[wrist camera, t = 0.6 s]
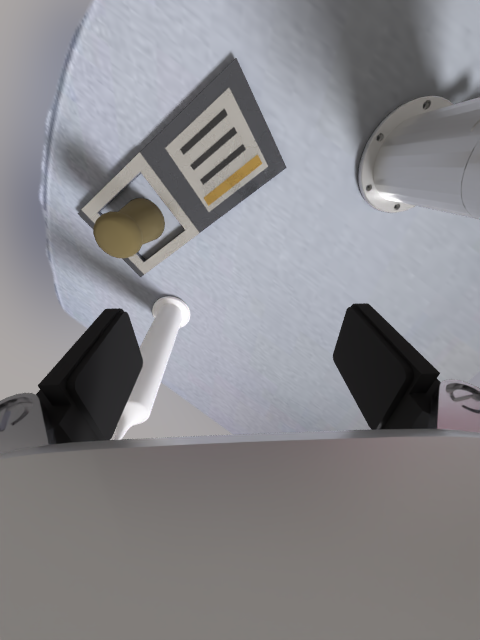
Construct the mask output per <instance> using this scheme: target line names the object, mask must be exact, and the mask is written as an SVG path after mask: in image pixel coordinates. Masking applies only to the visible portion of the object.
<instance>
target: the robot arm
mask: <svg viewBox="0 0 480 640" xmlns="http://www.w3.org/2000/svg"><path fill="white" fill-rule="evenodd" d="M377 136H378V140H376V138H377ZM358 178H359V187H360V191H361V194H362V196H363V198H364V199H365V201H366V202H367V203H368V204H369V205H370V206H372V207H373V208H375V209H377V210H380V211H383V212H388V213H397V212H402V211H406V210H408V209H411V208H413V207H415V206H419V207H423V208H428V209H433V210H437V211H442V212H447V213H451V214H456V215H461V216H465V217H470V218H475V219H479V220H480V97H478V98H475V99H471V100H468V101H464V102H461V103H457V104H453V103H451V102H450V101H449V100H447V99H445V98H443V97H439V96H426V97H420V98H417V99H414V100H411V101H409V102H407V103H405V104H403V105H401V106H400V107H398V108H397V109H395V110H394V111H393V112H391V113H390V114H389V115H388V116H387V117H386V118H385V119H384V120H383V121H382V122H381V123H380V124H379V126H378V127H377V128H376V130H375V131H374V132H373V134H372V135H371V137H370V139H369V141H368V142H367V144H366V147H365V149H364V151H363V154H362V157H361V161H360V165H359V174H358ZM366 186H367V189H366ZM394 206H395V207H394ZM333 360H334V363H335V364H336V366H337V368H338V370H339V372H340V374H341V375H342V377H343V379H344V381H345V383H346V385H347V386H348V388H349V390H350V392H351V394H352V396H353V398H354V399H355V401H356V403H357V405H358V407H359V409H360V410H361V412H362V414H363V416H364V418H365V420H366V421H367V423H368V425H369V427H370V428H371V429H372V430H348V431H318V432H290V433H264V434H238V435H215V436H214V435H213V436H193V437H192V436H191V437H167V438H146V439H122V440H110V439H111V438H112V436H113V434H114V431H115V429H116V427H117V424H118V422H119V420H120V417H121V415H122V413H123V411H124V408H125V406H126V404H127V401H128V399H129V397H130V395H131V392H132V390H133V388H134V385H135V383H136V381H137V378H138V376H139V374H140V372H141V369H142V367H143V358H142V355H141V352H140V349H139V346H138V343H137V340H136V337H135V333H134V330H133V327H132V324H131V321H130V318H129V315H128V313H127V312H124V311H123V310H122V309H105V310H104V311H103V312H102V313H101V314H100V316H99V317H98V318H97V319H96V320H95V321H94V322H93V324H92V325H91V326H90V327H89V328H88V329H87V330H86V331H85V333H84V334H83V335H82V336H81V337H80V338H79V340H78V341H77V342H76V343H75V344H74V345H73V346H72V348H71V349H70V350H69V351H68V352H67V353H66V354H65V355H64V356H63V358H62V359H61V360H60V361H59V362H58V363H57V364H56V366H55V367H54V368H53V369H52V370H51V372H49V374H48V375H47V376H46V377H45V378H44V379H43V380H42V381H41V383H40V384H39V385H38V387H39V388H40V390H39V392H38V393H37V394H36V395H35V394H32V393H22V394H16V395H13V396H10V397H8V398H5V399H3V400H1V401H0V640H480V388H478V387H476V386H474V385H472V384H470V383H467V382H464V381H460V380H454V379H449V380H444V381H442V382H440V381H439V380H438V379H437V377H438V375H439V374H440V373H439V372H438V371H437V370H436V369H435V368H434V367H433V366H432V365H431V364H430V363H429V362H428V361H427V360H426V359H425V358H424V357H423V356H422V355H421V354H420V353H419V352H418V351H417V350H416V349H415V348H414V347H413V346H412V345H411V344H410V343H408V342H407V341H406V340H405V339H404V338H403V337H402V336H401V335H400V334H399V333H398V332H397V331H396V330H395V329H394V328H393V327H392V326H391V325H390V324H389V323H388V322H387V321H386V320H385V319H384V318H383V317H382V316H381V315H380V314H379V313H378V312H377V311H376V310H374V309H373V308H372V307H371V306H370V305H369V304H353V305H352V306H351V307H349V308H348V309H347V311H346V314H345V317H344V320H343V324H342V327H341V330H340V333H339V337H338V340H337V343H336V346H335V350H334V353H333Z"/></svg>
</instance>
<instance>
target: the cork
mask: <svg viewBox="0 0 480 640" xmlns="http://www.w3.org/2000/svg"><path fill="white" fill-rule="evenodd" d="M164 226H165V222H164V217H163V215H162V212H161V211H160V209H159V208H158V207H157V206H156V205H155V204H154V203H152V202H151V201H149V200H147V199H144V198H136V199H133V200H131V201H130V202H129V203H128V204H126V205H125V206H124V207H123V208H122V209H121V210H120V211H118V212H108V213H105V214H102V215H101V216H100V217H99V218H98V219H97V220H96V222H95V224H94V228H93V233H94V237H95V240H96V242H97V244H98V245H99V247H100V248H101V249H102V250H103V251H104V252H106V253H107V254H109V255H111V256H113V257H116V258H128V257H131V256H134V255H135V254H136V253H137V252H138V251H139V250H140V248H141V246H142V244H145V243H148V242H150V241H153V240H155V239H157V238H158V237H160V236H161V234H162V233H163V231H164Z"/></svg>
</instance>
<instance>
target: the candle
mask: <svg viewBox="0 0 480 640" xmlns="http://www.w3.org/2000/svg"><path fill="white" fill-rule="evenodd" d="M152 313H153V317H154V318H155V319H154V321H153V323H152V325H151V327H150V329H149V331H148V333H147V334H146V336H145V338H144V340H143V342H142V344H141V346H140V348H139V349H140V352H141V355H142V358H143V367H142V369H141V372H140V374H139V376H138V378H137V381H136V383H135V385H134V388H133V390H132V392H131V395H130V397H129V399H128V401H127V404H126V406H125V408H124V411H123V413H122V415H121V417H120V420H119V422H118V424H117V430H116V435H115V440H121V439H122V437H123V436H124V434H125V433H126V431H127V430H128V429H129V428H130V427H131V426H133V425H136V424H140V423H142V422H144V421H146V420H147V419H148V418H149V416H150V413H151V410H152V407H153V404H154V401H155V398H156V395H157V392H158V389H159V386H160V383H161V380H162V377H163V374H164V371H165V369H166V366H167V363H168V360H169V357H170V354H171V351H172V348H173V345H174V342H175V339H176V336H177V333H178V330H179V328H181V327H183V326H185V325H186V324H187V323H188V321H189V319H190V310H189V307H188V306H187V304H186V303H185V302H184V301H182V300H181V299H179V298H176V297H172V296H166V297H162V298H160V299H158V300H157V301H156V302H155V304H154V305H153V308H152Z"/></svg>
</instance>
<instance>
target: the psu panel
mask: <svg viewBox="0 0 480 640" xmlns="http://www.w3.org/2000/svg"><path fill="white" fill-rule="evenodd" d="M285 168H286V166H285V163H284V161H283V159H282V157H281V155H280V152H279V150H278V148H277V146H276V144H275V142H274V139H273V137H272V135H271V133H270V131H269V128H268V126H267V124H266V122H265V120H264V117H263V115H262V113H261V111H260V109H259V107H258V104H257V102H256V100H255V98H254V96H253V93H252V91H251V89H250V87H249V85H248V82H247V80H246V78H245V76H244V74H243V72H242V69H241V67H240V65H239V63H238V61H237V58H235V59H234V60H233V61H232V62H231V63H230V64H229V65H228V66H227V67H226V68H225V69H224V70H223V71H222V72H221V73H220V74H219V75H218V76H217V77H216V78H215V79H214V80H213V81H212V82H211V83H210V84H209V85H208V86H207V87H206V88H205V89H204V90H203V91H202V92H201V93H200V94H199V95H198V96H197V97H196V98H195V99H194V100H193V101H192V102H191V103H190V104H189V105H188V106H187V107H186V108H185V109H184V110H183V111H182V112H181V113H180V114H179V115H177V116H176V117H175V118H174V119H173V120H172V121H171V122H170V123H169V124H168V125H167V126H166V127H165V128H164V129H163V130H162V131H161V132H160V133H159V134H158V135H157V136H156V137H155V138H154V139H153V140H152V141H151V142H150V143H149V144H148V145H147V146H146V147H145V148H144V149H143V150H142V151H141V152H139V153H138V154H137V155H136V156H135V157H134V158H133V159H132V160H131V161H130V162H129V163H128V164H127V165H126V166H125V167H124V168H123V169H122V170H121V171H120V172H119V173H118V174H117V175H116V176H115V177H114V178H113V179H112V180H111V181H110V182H109V183H108V184H107V185H106V186H105V187H104V188H103V189H102V190H101V191H100V192H99V193H98V194H97V195H96V196H95V197H94V198H93V199H92V200H91V201H90V202H89V203H88V204H87V205H86V206H85V207H84V208H82V209H81V211H80V212H79V213H78V214H79V215H80V217H81V218H82V219H83V220H84V221H85V222H86V223H87V224H88V225H89V226H90V227H91V228H92V229H93V228H94V224H95V222H96V220H97V219H98V218H99V217H100V216H101V215H102V213H101V212H100V211H101V210H103V209H104V208H105V207H106V206H107V205H108V204H109V203H110V202H111V201H112V200H113V199H114V198H115V197H116V196H117V195H118V194H120V193H121V192H122V191H123V190H124V189H125V188H126V187H127V186H128V185H129V184H130V183H131V182H132V181H133V180H134V179H135V178H136V177H138V176H139V175H140V174H141V173H142V174H143V176H144V177H145V178H146V180H147V181H148V182H149V183H150V185H151V186H152V187H153V189H154V190H155V191H156V193H157V194H158V195H159V196H160V198H161V199H162V200H163V202H164V203H165V204H166V206H167V207H168V208H169V209H170V211H171V212H172V213H173V215H174V216H175V217H176V219H177V220H178V221H179V222H180V224H181V225H182V226H183V228H184V229H185V231H183V232H182V233H181V234H179V235H178V236H177V237H175V238H174V239H173V240H172V241H170V242H169V243H168V244H166V245H165V246H164V247H163V248H161V249H160V250H159V251H157V252H156V253H155V254H154V255H152V256H151V257H150V258H148V259H147V260H145V259H144V258H143V257H142V256H141V255H140V254H139V253H138V252H137V253H136V254H135V255H134V256H131V257H128V258H122V259H123V260H124V261H125V262H126V263H127V264H128V265H129V266H130V267H131V268H132V269H133V270H134V271H135V272H136V273H137V274H138V275H139V276H140V277H141V276H143V275H144V274H146V273H147V272H148V271H150V270H151V269H152V268H154V267H155V266H156V265H158V264H159V263H160V262H162V261H163V260H164V259H166V258H167V257H168V256H170V255H171V254H172V253H174V252H175V251H176V250H178V249H179V248H180V247H182V246H183V245H184V244H186V243H187V242H188V241H190V240H191V239H192V238H194V237H195V236H196V235H198V234H199V233H200V232H201V231H203V230H204V229H205V228H207V227H208V226H209V225H211V224H212V223H213V222H215V221H216V220H217V219H219V218H220V217H221V216H223V215H224V214H225V213H227V212H228V211H229V210H231V209H232V208H233V207H235V206H236V205H237V204H239V203H240V202H241V201H243V200H244V199H245V198H247V197H248V196H249V195H251V194H252V193H253V192H255V191H256V190H257V189H259V188H260V187H261V186H263V185H264V184H265V183H267V182H268V181H269V180H271V179H272V178H273V177H275V176H276V175H277V174H279V173H280V172H281V171H283V170H284V169H285Z"/></svg>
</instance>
